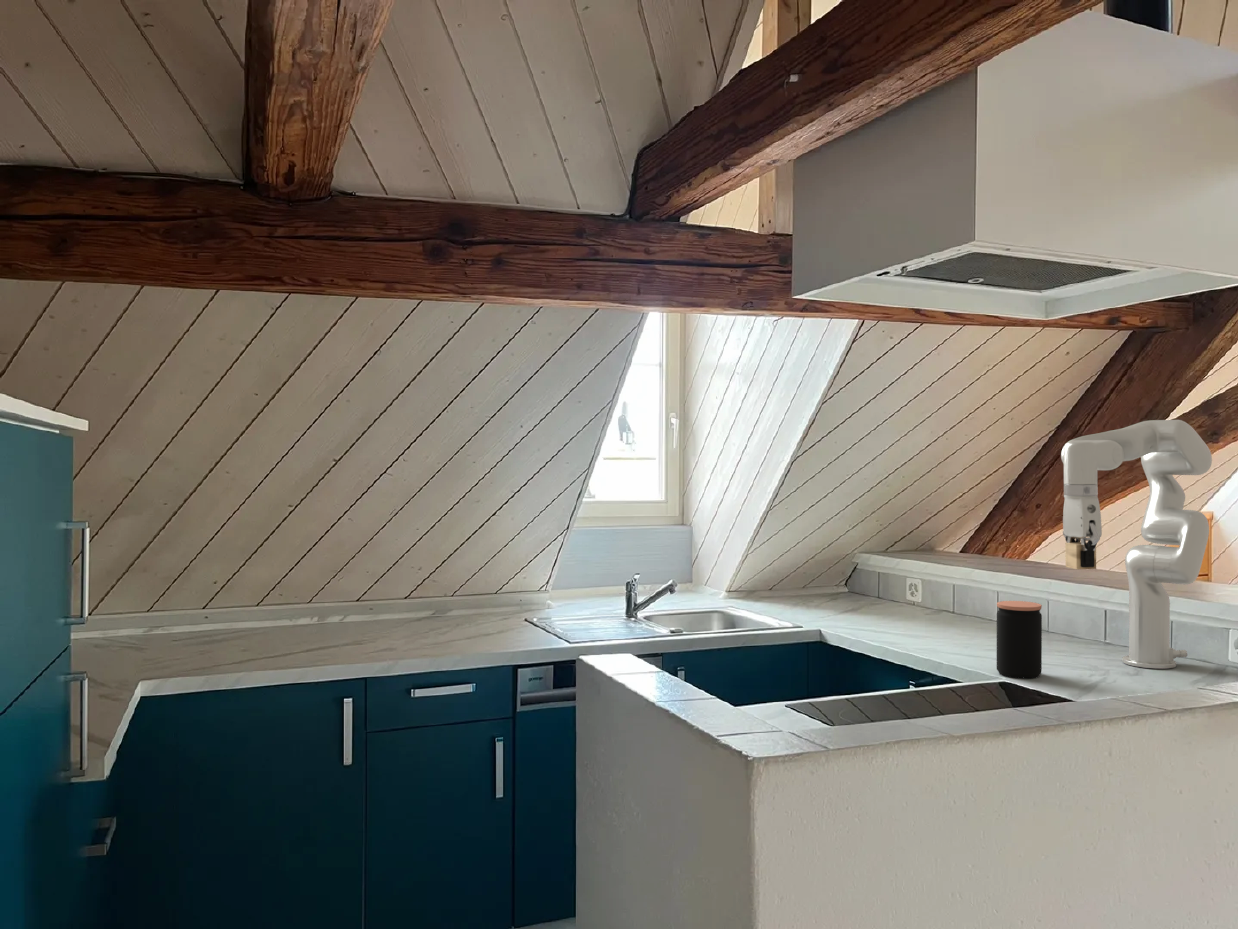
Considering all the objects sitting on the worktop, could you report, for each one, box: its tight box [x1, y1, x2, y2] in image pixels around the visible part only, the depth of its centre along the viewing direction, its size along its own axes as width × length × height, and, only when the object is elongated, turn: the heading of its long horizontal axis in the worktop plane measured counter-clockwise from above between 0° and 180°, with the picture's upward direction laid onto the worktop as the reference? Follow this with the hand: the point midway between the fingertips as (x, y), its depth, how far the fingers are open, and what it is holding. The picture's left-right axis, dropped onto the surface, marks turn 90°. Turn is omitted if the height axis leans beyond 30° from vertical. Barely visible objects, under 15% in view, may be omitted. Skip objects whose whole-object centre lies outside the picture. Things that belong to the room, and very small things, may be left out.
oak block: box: [1064, 541, 1097, 570], centre depth 245 cm, size 5×5×6 cm
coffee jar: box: [996, 600, 1043, 680], centre depth 253 cm, size 11×11×18 cm
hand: (1081, 564), depth 245 cm, fingers closed on oak block, 5 cm apart
